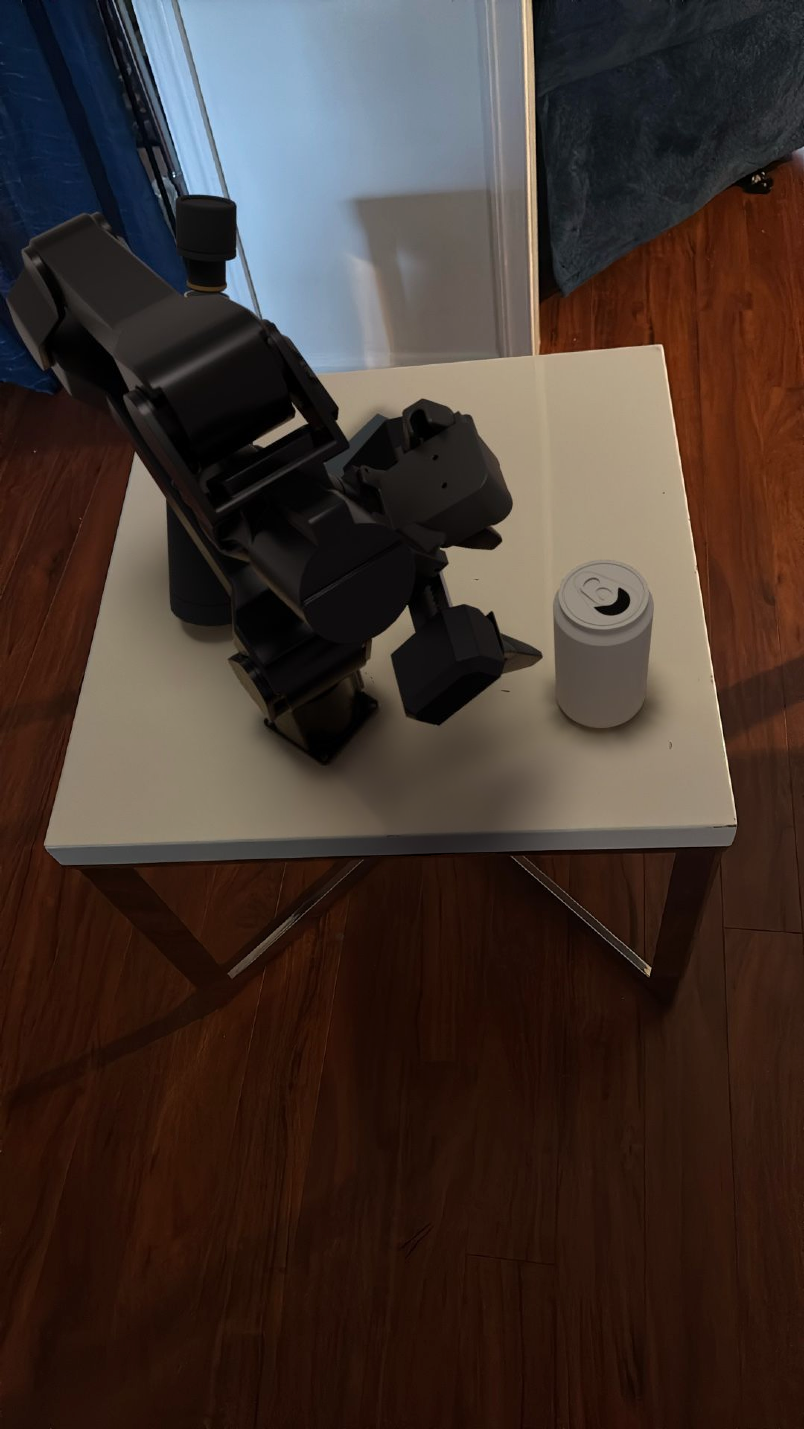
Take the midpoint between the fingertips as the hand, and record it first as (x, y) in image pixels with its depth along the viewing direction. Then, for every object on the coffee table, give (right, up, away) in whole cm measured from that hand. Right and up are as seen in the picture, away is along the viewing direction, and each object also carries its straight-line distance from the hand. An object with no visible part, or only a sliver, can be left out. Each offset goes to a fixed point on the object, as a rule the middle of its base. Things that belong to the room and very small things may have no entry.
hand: (516, 599), depth 65 cm
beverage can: (+7, -6, +11) cm, 14 cm away
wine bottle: (-23, +1, +19) cm, 30 cm away
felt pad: (-9, +15, +27) cm, 32 cm away
